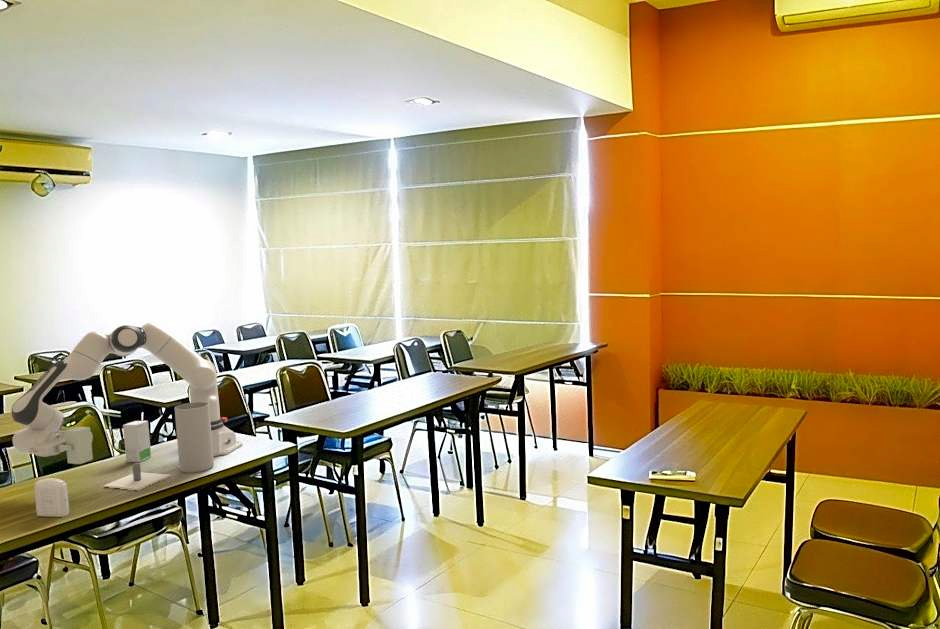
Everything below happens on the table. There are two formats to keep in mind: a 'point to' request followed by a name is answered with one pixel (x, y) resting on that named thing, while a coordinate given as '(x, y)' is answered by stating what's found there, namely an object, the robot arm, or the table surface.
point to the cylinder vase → (194, 437)
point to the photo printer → (51, 497)
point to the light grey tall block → (79, 445)
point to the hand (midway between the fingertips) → (80, 444)
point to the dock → (137, 484)
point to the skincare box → (137, 441)
